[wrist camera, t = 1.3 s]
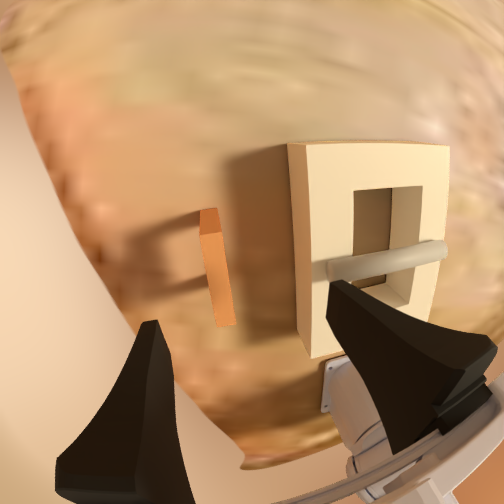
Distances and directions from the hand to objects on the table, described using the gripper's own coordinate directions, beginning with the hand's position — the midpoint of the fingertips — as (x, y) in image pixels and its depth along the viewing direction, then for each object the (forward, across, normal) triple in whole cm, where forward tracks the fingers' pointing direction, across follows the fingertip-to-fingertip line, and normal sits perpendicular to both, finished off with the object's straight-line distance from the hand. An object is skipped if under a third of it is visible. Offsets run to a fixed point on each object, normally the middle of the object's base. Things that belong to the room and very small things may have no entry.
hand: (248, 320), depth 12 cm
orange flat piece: (+10, 0, +2) cm, 11 cm away
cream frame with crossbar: (+9, -12, +3) cm, 15 cm away
